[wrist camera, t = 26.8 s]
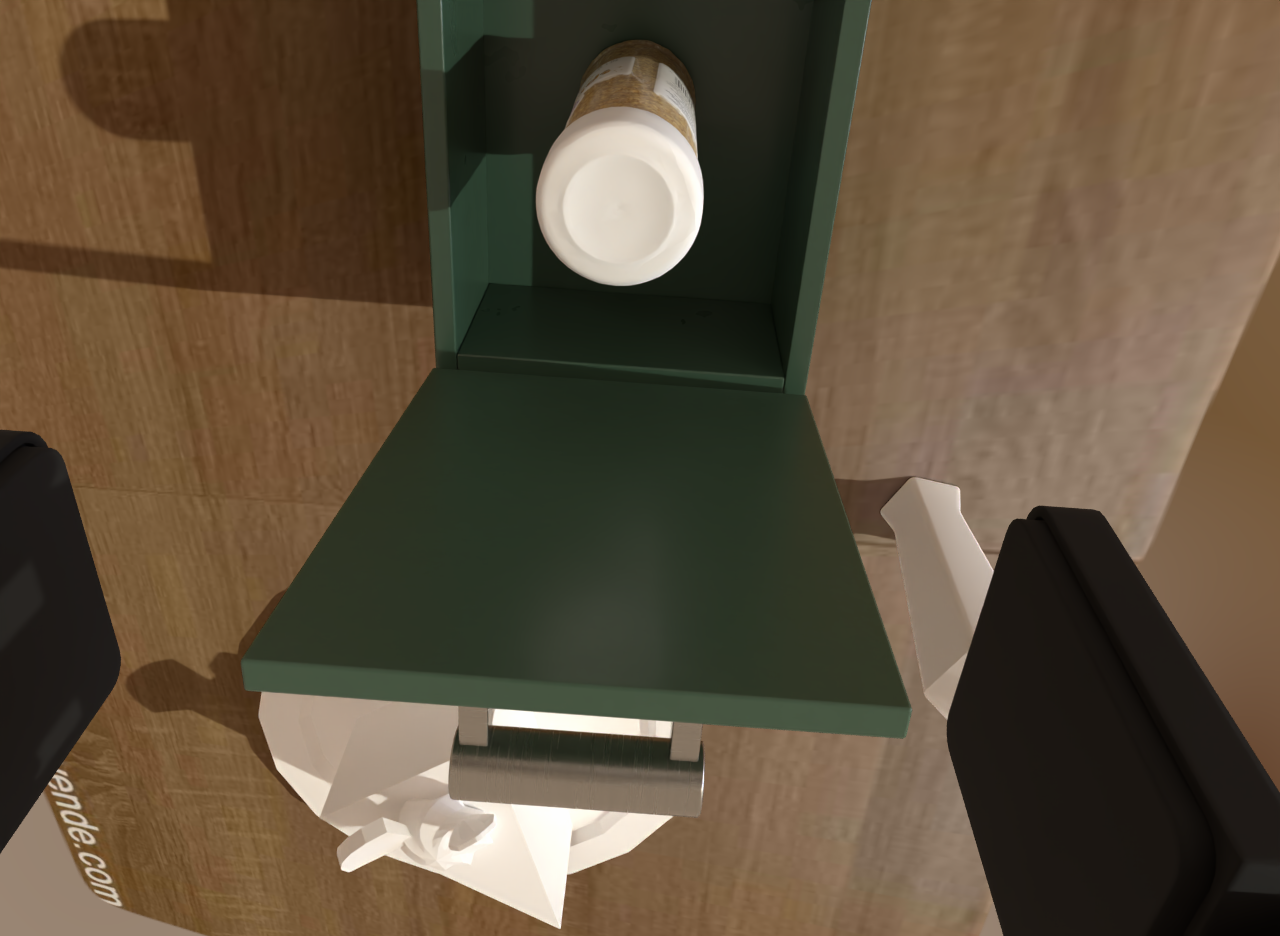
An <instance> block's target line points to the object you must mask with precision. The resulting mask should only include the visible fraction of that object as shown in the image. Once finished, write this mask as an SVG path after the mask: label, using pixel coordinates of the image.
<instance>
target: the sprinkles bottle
mask: <svg viewBox="0 0 1280 936" xmlns="http://www.w3.org/2000/svg"><path fill="white" fill-rule="evenodd" d="M695 104H696V98H695V89H694V85H693V81H692V79H691V77H690V75H689V73H688V71H687V69H686V67H685V66H684V64H683V63H682V62H681V61H680V60H679V59H678V58H677V57H676V56H675V55H674V54H673V53H672V52H671V51H670V50H669V49H667V48H664V47H662V46H661V45H659V44H656V43H654V42H652V41H648V40H627V41H624V42H622V43H617V44H615V45H612V46H610V47H608V48H606V49H605V50H603V51H602V52H601V53H600V54H599V55H598V56H597V57H596V58H595V59H594V60H593V61H592V62H591V64H590V65H589V67H588V68H587V70H586V72H585V74H584V75H583V77H582V80H581V84H580V89H579V93H578V95H577V97H576V100H575V103H574V106H573V109H572V111H571V114H570V117H569V119H568V121H567V124H566V127H565V129H564V131H563V132H562V133H561V134H560V135H559V137H558V138H557V139H556V140H555V142H554V144H553V145H552V147H551V149H550V151H549V153H548V155H547V157H546V159H545V162H544V164H543V167H542V170H541V173H540V176H539V180H538V184H537V190H536V211H537V218H538V222H539V225H540V228H541V231H542V233H543V236H544V238H545V240H546V242H547V244H548V245H549V247H550V248H551V250H552V251H553V252H554V254H555V255H556V256H557V257H558V258H559V259H560V261H562V262H563V263H564V264H565V265H566V266H567V267H568V268H570V269H571V270H572V271H574V272H576V273H577V274H579V275H580V276H582V277H585V278H587V279H589V280H592V281H594V282H597V283H600V284H607V285H613V286H630V285H636V284H641V283H644V282H647V281H650V280H653V279H655V278H658V277H660V276H661V275H663V274H664V273H666V272H667V271H669V270H670V269H672V268H673V267H674V266H675V265H676V264H678V263H679V262H680V260H681V259H682V258H683V257H684V256H685V255H686V254H687V252H688V251H689V249H690V248H691V246H692V244H693V242H694V240H695V238H696V236H697V234H698V231H699V228H700V224H701V219H702V213H703V199H704V194H703V179H702V173H701V169H700V165H699V162H698V160H697V159H698V156H697V138H696V118H695Z"/></svg>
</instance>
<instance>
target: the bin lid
mask: <svg viewBox="0 0 1280 936" xmlns="http://www.w3.org/2000/svg"><path fill="white" fill-rule="evenodd" d="M241 668H242V676H243V683H244V689H245V690H247V691H257V692H271V693H285V694H298V695H312V696H326V697H339V698H353V699H367V700H380V701H394V702H408V703H421V704H435V705H449V706H458V723H459V725H458V727H457V729H456V732H455V735H454V739H453V744H452V749H451V756H450V764H449V776H448V789H449V795H450V798H451V799H452V800H462V801H475V802H489V803H503V804H516V805H530V806H544V807H557V808H571V809H585V810H598V811H612V812H626V813H639V814H653V815H667V816H680V817H694V818H698V817H699V816H700V814H701V809H702V802H703V791H704V772H705V751H704V743H703V741H701V735H702V727H703V724H709V725H722V726H736V727H750V728H763V729H777V730H791V731H805V732H818V733H832V734H846V735H859V736H873V737H887V738H900V739H903V738H905V737H906V734H907V730H908V726H909V721H910V717H911V713H912V708H911V705H910V702H909V699H908V696H907V693H906V690H905V687H904V684H903V681H902V678H901V675H900V672H899V669H898V666H897V664H896V661H895V658H894V655H893V652H892V649H891V646H890V643H889V640H888V637H887V634H886V631H885V628H884V625H883V622H882V619H881V616H880V613H879V610H878V607H877V604H876V601H875V598H874V595H873V592H872V589H871V586H870V583H869V580H868V577H867V574H866V571H865V569H864V566H863V563H862V560H861V557H860V554H859V551H858V548H857V545H856V542H855V539H854V536H853V533H852V530H851V527H850V524H849V521H848V518H847V515H846V512H845V509H844V506H843V503H842V500H841V497H840V494H839V491H838V488H837V485H836V482H835V479H834V476H833V473H832V471H831V468H830V465H829V462H828V459H827V456H826V453H825V450H824V447H823V444H822V441H821V438H820V435H819V432H818V429H817V426H816V423H815V420H814V417H813V414H812V411H811V408H810V405H809V402H808V399H807V396H805V395H796V394H782V393H768V392H755V391H741V390H727V389H714V388H700V387H686V386H673V385H659V384H645V383H632V382H618V381H604V380H591V379H577V378H563V377H549V376H536V375H522V374H508V373H495V372H481V371H467V370H454V369H440V368H433V369H432V371H431V372H430V374H429V375H428V377H427V378H426V380H425V381H424V383H423V384H422V386H421V388H420V389H419V391H418V392H417V394H416V395H415V397H414V398H413V400H412V401H411V403H410V404H409V406H408V407H407V409H406V410H405V412H404V413H403V415H402V416H401V418H400V419H399V421H398V422H397V424H396V425H395V427H394V429H393V430H392V432H391V433H390V435H389V436H388V438H387V439H386V441H385V442H384V444H383V445H382V447H381V448H380V450H379V451H378V453H377V454H376V456H375V457H374V459H373V460H372V462H371V463H370V465H369V466H368V468H367V469H366V471H365V473H364V474H363V476H362V477H361V479H360V480H359V482H358V483H357V485H356V486H355V488H354V489H353V491H352V492H351V494H350V495H349V497H348V498H347V500H346V501H345V503H344V504H343V506H342V507H341V509H340V510H339V512H338V513H337V515H336V517H335V518H334V520H333V521H332V523H331V524H330V526H329V527H328V529H327V530H326V532H325V533H324V535H323V536H322V538H321V539H320V541H319V542H318V544H317V545H316V547H315V548H314V550H313V551H312V553H311V554H310V556H309V557H308V559H307V561H306V562H305V564H304V565H303V567H302V568H301V570H300V571H299V573H298V574H297V576H296V577H295V579H294V580H293V582H292V583H291V585H290V586H289V588H288V589H287V591H286V592H285V594H284V595H283V597H282V598H281V600H280V602H279V603H278V605H277V606H276V608H275V609H274V611H273V612H272V614H271V615H270V617H269V618H268V620H267V621H266V623H265V624H264V626H263V627H262V629H261V630H260V632H259V633H258V635H257V636H256V638H255V639H254V641H253V642H252V644H251V646H250V647H249V649H248V650H247V652H246V653H245V655H244V656H243V658H242V659H241ZM492 709H504V710H517V711H531V712H545V713H558V714H572V715H586V716H599V717H613V718H627V719H640V720H654V721H668V722H671V729H670V738H662V737H648V736H635V735H621V734H607V733H593V732H580V731H566V730H552V729H539V728H525V727H511V726H498V725H492Z"/></svg>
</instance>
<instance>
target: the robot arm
mask: <svg viewBox="0 0 1280 936" xmlns="http://www.w3.org/2000/svg"><path fill="white" fill-rule="evenodd" d="M120 666H121V656H120V650H119V646H118V643H117V640H116V636H115V633H114V629H113V626H112V623H111V619H110V616H109V612H108V609H107V606H106V602H105V599H104V595H103V592H102V588H101V585H100V582H99V578H98V575H97V571H96V568H95V565H94V561H93V558H92V554H91V551H90V547H89V544H88V541H87V537H86V534H85V530H84V527H83V524H82V520H81V517H80V513H79V510H78V506H77V503H76V500H75V496H74V493H73V489H72V486H71V483H70V479H69V476H68V472H67V469H66V466H65V463H64V460H63V458H62V456H61V455H60V454H59V452H58V451H57V450H54V449H52V448H48V446H47V444H46V442H45V441H44V440H43V439H42V438H41V437H40V436H39V435H37V434H35V433H33V432H25V431H11V430H0V853H1V852H2V850H3V849H4V847H5V846H6V844H7V843H8V841H9V840H10V839H11V837H12V836H13V834H14V833H15V831H16V830H17V828H18V827H19V825H20V824H21V822H22V821H23V819H24V818H25V817H26V815H27V814H28V812H29V811H30V809H31V808H32V806H33V805H34V803H35V802H36V801H37V799H38V798H39V796H40V795H41V793H42V792H43V790H44V789H45V787H46V786H47V785H48V783H49V782H50V780H51V779H52V777H53V776H54V774H55V773H56V771H57V770H58V768H59V767H60V766H61V764H62V763H63V761H64V760H65V758H66V757H67V755H68V754H69V752H70V751H71V749H72V748H73V747H74V745H75V744H76V742H77V741H78V739H79V738H80V736H81V735H82V733H83V732H84V730H85V729H86V728H87V726H88V725H89V723H90V722H91V720H92V719H93V717H94V716H95V714H96V713H97V712H98V710H99V709H100V707H101V706H102V704H103V703H104V701H105V700H106V698H107V697H108V695H109V694H110V693H111V691H112V689H113V688H114V686H115V684H116V681H117V679H118V676H119V671H120ZM947 742H948V748H949V752H950V756H951V759H952V762H953V766H954V769H955V773H956V776H957V779H958V783H959V786H960V790H961V793H962V796H963V800H964V803H965V807H966V810H967V813H968V817H969V820H970V824H971V827H972V830H973V834H974V837H975V841H976V844H977V847H978V851H979V854H980V858H981V861H982V864H983V868H984V871H985V874H986V878H987V881H988V885H989V888H990V891H991V895H992V898H993V902H994V905H995V908H996V912H997V915H998V919H999V922H1000V925H1001V928H1002V932H1003V936H1280V792H1279V791H1278V789H1277V788H1276V786H1275V785H1274V783H1273V781H1272V780H1271V778H1270V777H1269V775H1268V774H1267V772H1266V771H1265V769H1264V767H1263V766H1262V764H1261V762H1260V761H1259V759H1258V758H1257V756H1256V755H1255V753H1254V752H1253V750H1252V748H1251V747H1250V745H1249V744H1248V742H1247V740H1246V739H1245V737H1244V736H1243V734H1242V732H1241V731H1240V729H1239V728H1238V726H1237V725H1236V723H1235V721H1234V720H1233V718H1232V717H1231V715H1230V714H1229V712H1228V710H1227V709H1226V707H1225V706H1224V704H1223V703H1222V701H1221V700H1220V698H1219V696H1218V695H1217V693H1216V692H1215V690H1214V688H1213V687H1212V685H1211V684H1210V682H1209V680H1208V679H1207V677H1206V676H1205V674H1204V672H1203V671H1202V669H1201V668H1200V666H1199V665H1198V664H1197V662H1196V660H1195V659H1194V657H1193V655H1192V654H1191V652H1190V651H1189V649H1188V647H1187V646H1186V644H1185V643H1184V641H1183V640H1182V638H1181V636H1180V635H1179V633H1178V632H1177V630H1176V629H1175V627H1174V625H1173V624H1172V622H1171V621H1170V619H1169V617H1168V616H1167V614H1166V613H1165V611H1164V610H1163V608H1162V606H1161V605H1160V603H1159V602H1158V600H1157V598H1156V597H1155V595H1154V594H1153V592H1152V591H1151V589H1150V587H1149V586H1148V584H1147V583H1146V581H1145V580H1144V578H1143V576H1142V575H1141V573H1140V572H1139V570H1138V568H1137V567H1136V565H1135V564H1134V562H1133V561H1132V559H1131V557H1130V556H1129V554H1128V553H1127V551H1126V550H1125V548H1124V546H1123V545H1122V543H1121V542H1120V540H1119V538H1118V537H1117V535H1116V534H1115V532H1114V531H1113V529H1112V527H1111V526H1110V524H1109V523H1108V521H1107V520H1106V518H1105V517H1104V516H1103V515H1102V513H1101V512H1100V511H1096V510H1092V509H1078V508H1065V507H1051V506H1037V507H1035V508H1033V509H1032V511H1031V512H1030V513H1029V515H1028V517H1027V519H1015V520H1013V521H1012V522H1011V524H1010V525H1009V527H1008V530H1007V532H1006V535H1005V538H1004V541H1003V544H1002V547H1001V551H1000V554H999V557H998V560H997V563H996V566H995V569H994V573H993V576H992V579H991V582H990V585H989V588H988V591H987V594H986V598H985V601H984V604H983V607H982V610H981V613H980V616H979V619H978V623H977V626H976V629H975V632H974V635H973V638H972V641H971V644H970V648H969V651H968V654H967V657H966V660H965V663H964V666H963V669H962V673H961V676H960V679H959V682H958V685H957V688H956V691H955V694H954V698H953V701H952V704H951V707H950V710H949V714H948V720H947Z"/></svg>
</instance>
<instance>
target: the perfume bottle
mask: <svg viewBox="0 0 1280 936" xmlns="http://www.w3.org/2000/svg"><path fill="white" fill-rule="evenodd" d="M880 513H881V515H882V517H883V518H884V519H885V520H886V522H887V523H888V524H889V526H890V527H891V528H892V530H893V531H894V532H895V538H896V543H897V548H898V554H899V559H900V565H901V570H902V576H903V581H904V587H905V592H906V597H907V603H908V608H909V614H910V619H911V625H912V630H913V636H914V641H915V647H916V652H917V657H918V663H919V668H920V674H921V679H922V685H923V690H924V695H925V697H926V698H927V699H928V700H929V701H930V702H931V703H932V704H933V705H934V706H935V708H936V709H937V710H938V711H939V712H940V713H941V714H942V715H943V716H944V717H945V718H946V719H947V720H948V714H949V710H950V707H951V704H952V701H953V698H954V694H955V691H956V688H957V685H958V682H959V679H960V676H961V673H962V669H963V666H964V663H965V660H966V657H967V654H968V651H969V648H970V644H971V641H972V638H973V635H974V632H975V629H976V626H977V623H978V619H979V616H980V613H981V610H982V607H983V604H984V601H985V598H986V594H987V591H988V588H989V585H990V582H991V579H992V576H993V573H994V571H993V569H992V567H991V565H990V564H989V562H988V560H987V558H986V557H985V555H984V553H983V551H982V550H981V548H980V546H979V544H978V542H977V541H976V539H975V537H974V535H973V534H972V532H971V530H970V528H969V527H968V525H967V523H966V521H965V520H964V518H963V516H962V514H961V512H960V489H959V488H958V487H956V486H953V485H948V484H944V483H940V482H935V481H931V480H927V479H922V478H918V477H912V478H910V479H909V480H908V481H907V482H906V483H905V484H904V485H903V486H902V487H901V488H900V489H899V490H898V492H897V493H896V494H895V495H894V496H893V497H892V498H891V499H890V500H889V501H888V502H887V503H886V505H885V506H884V507H883V508H882V509H881V511H880Z"/></svg>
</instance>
